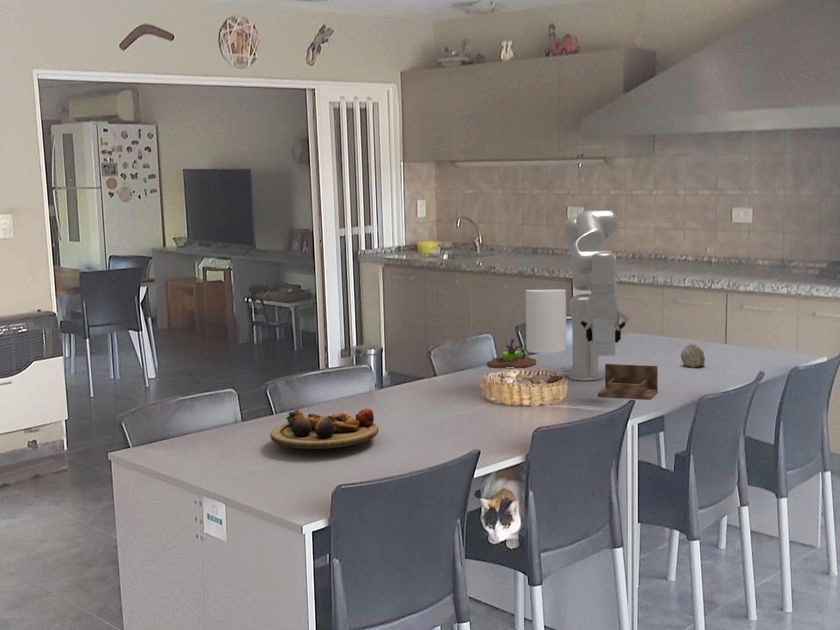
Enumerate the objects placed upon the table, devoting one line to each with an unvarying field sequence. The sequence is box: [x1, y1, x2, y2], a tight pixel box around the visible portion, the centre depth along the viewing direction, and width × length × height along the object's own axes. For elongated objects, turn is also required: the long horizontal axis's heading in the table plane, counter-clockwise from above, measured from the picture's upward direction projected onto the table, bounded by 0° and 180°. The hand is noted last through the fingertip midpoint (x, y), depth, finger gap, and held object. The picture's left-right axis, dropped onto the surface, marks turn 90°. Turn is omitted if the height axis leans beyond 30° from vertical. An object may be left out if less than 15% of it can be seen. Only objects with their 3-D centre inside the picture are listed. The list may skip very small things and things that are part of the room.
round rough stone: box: [680, 343, 706, 369], centre depth 380 cm, size 9×8×10 cm
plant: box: [486, 338, 537, 369], centre depth 399 cm, size 20×20×11 cm
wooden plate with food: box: [269, 408, 379, 450], centre depth 291 cm, size 32×32×8 cm
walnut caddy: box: [597, 363, 659, 400], centre depth 337 cm, size 18×13×9 cm
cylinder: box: [525, 289, 567, 354], centre depth 426 cm, size 17×17×28 cm
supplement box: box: [592, 318, 616, 357], centre depth 327 cm, size 7×7×13 cm
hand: (603, 341), depth 327 cm, fingers closed on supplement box, 8 cm apart
